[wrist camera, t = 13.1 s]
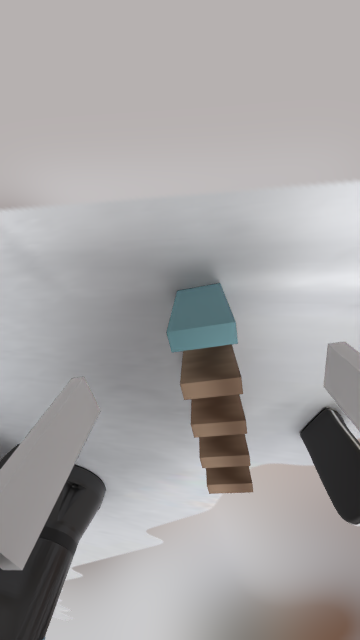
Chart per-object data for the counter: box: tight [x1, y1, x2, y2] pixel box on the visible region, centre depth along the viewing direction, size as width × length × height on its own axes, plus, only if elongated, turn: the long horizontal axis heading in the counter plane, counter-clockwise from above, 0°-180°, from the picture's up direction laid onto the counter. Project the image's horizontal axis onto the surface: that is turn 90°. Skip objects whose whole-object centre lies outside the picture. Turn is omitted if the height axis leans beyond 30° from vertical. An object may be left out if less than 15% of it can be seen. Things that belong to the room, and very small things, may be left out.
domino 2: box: [180, 344, 243, 400], centre depth 22 cm, size 5×2×10 cm, turn 102°
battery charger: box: [300, 409, 360, 526], centre depth 27 cm, size 7×4×11 cm, turn 160°
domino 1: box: [166, 283, 238, 352], centre depth 20 cm, size 5×2×10 cm, turn 102°
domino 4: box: [199, 434, 250, 468], centre depth 26 cm, size 5×2×10 cm, turn 102°
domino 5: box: [206, 466, 253, 494], centre depth 28 cm, size 5×2×10 cm, turn 102°
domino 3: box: [191, 394, 247, 437], centre depth 24 cm, size 5×2×10 cm, turn 102°
